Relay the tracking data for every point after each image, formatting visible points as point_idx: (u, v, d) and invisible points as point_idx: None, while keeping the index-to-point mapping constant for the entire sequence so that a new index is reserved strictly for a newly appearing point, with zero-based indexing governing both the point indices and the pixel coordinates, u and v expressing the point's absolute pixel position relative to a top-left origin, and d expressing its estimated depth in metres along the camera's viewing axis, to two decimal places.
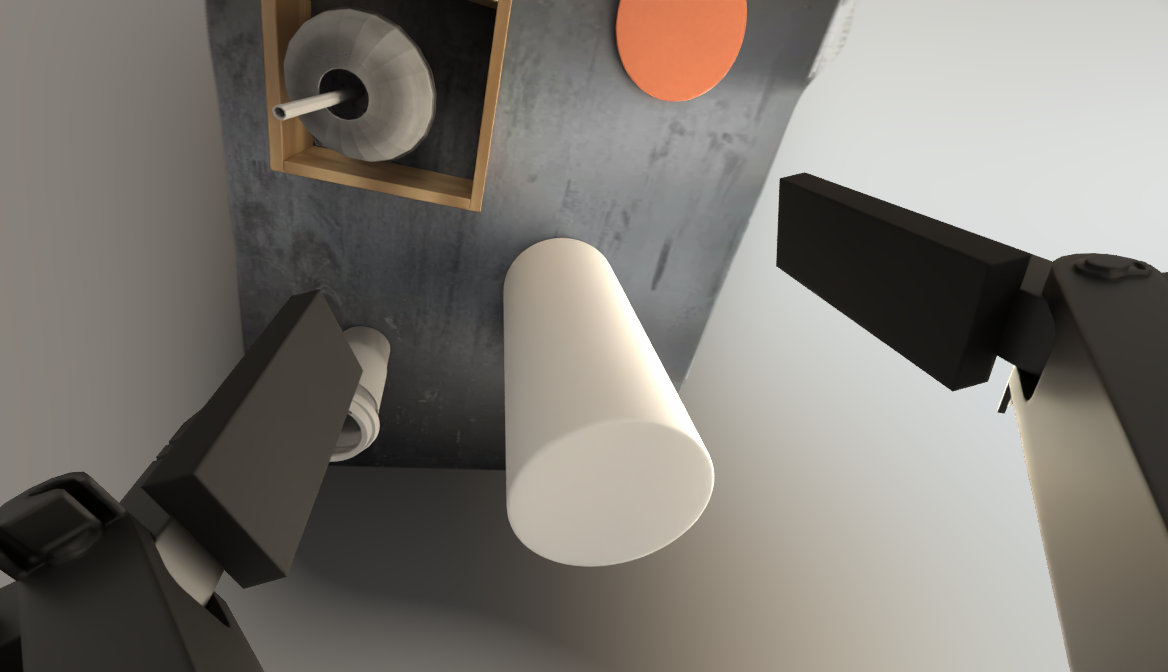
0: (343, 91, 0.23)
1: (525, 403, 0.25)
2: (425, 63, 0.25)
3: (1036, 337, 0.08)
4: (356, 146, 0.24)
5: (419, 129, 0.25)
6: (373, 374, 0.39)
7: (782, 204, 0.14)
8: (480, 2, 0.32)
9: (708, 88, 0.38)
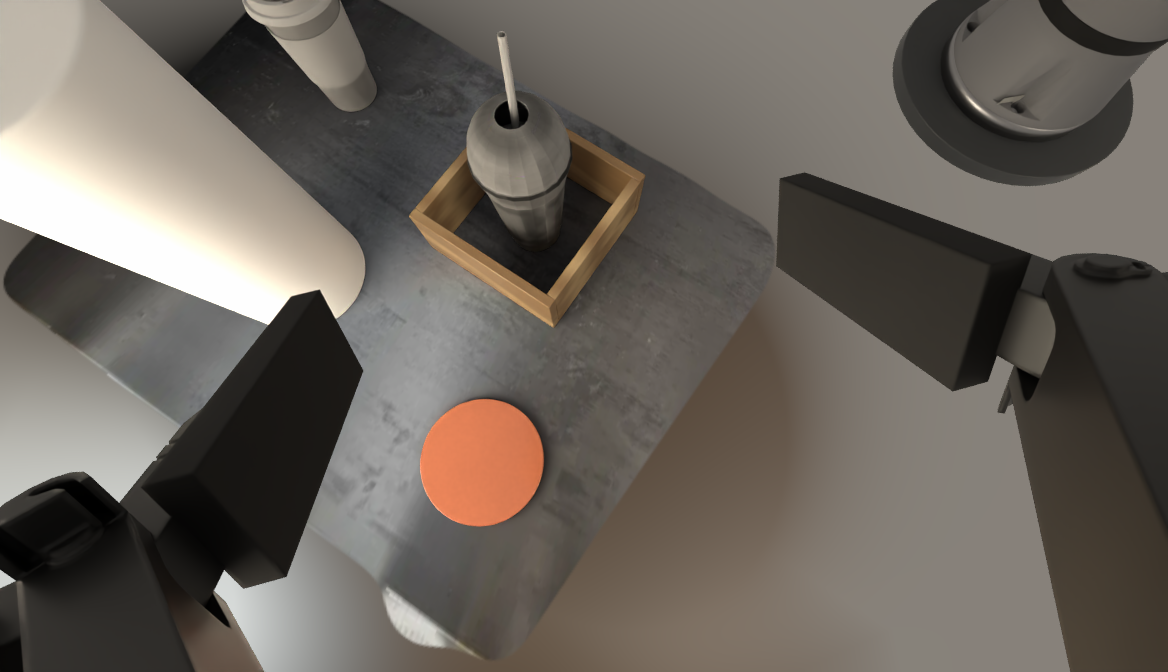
0: (517, 124, 0.30)
1: (165, 69, 0.23)
2: (517, 198, 0.32)
3: (1036, 337, 0.08)
4: (480, 110, 0.30)
5: (475, 164, 0.31)
6: (316, 62, 0.40)
7: (782, 204, 0.14)
8: None
9: (422, 474, 0.38)
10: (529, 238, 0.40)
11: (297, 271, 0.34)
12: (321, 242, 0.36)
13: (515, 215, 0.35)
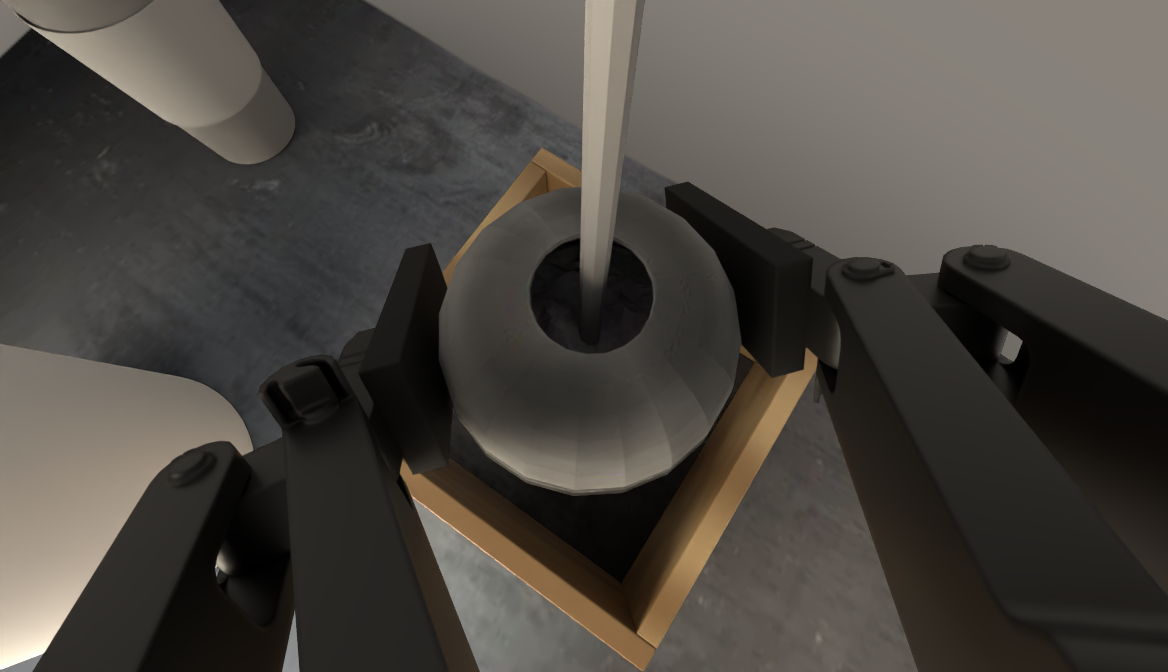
0: (599, 298, 0.09)
1: None
2: (588, 492, 0.11)
3: (828, 335, 0.09)
4: (481, 257, 0.09)
5: (464, 417, 0.10)
6: (139, 79, 0.19)
7: None
8: (639, 567, 0.20)
9: None
10: None
11: (7, 625, 0.13)
12: (96, 518, 0.15)
13: None
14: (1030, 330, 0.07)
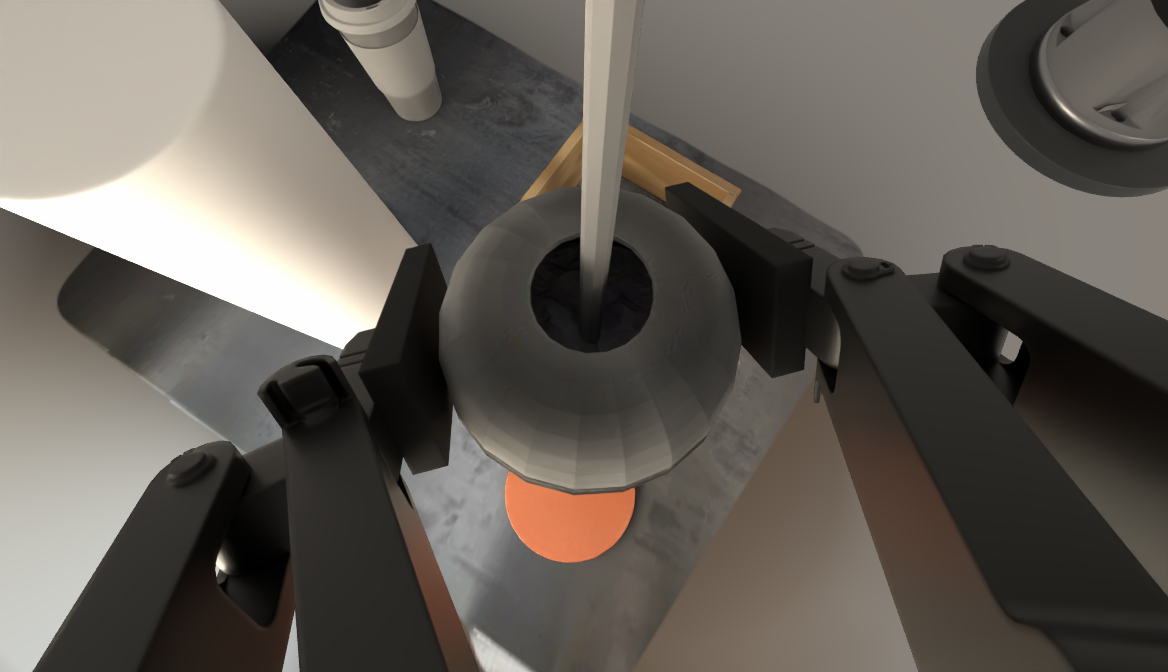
0: (599, 298, 0.09)
1: (285, 86, 0.21)
2: (588, 492, 0.11)
3: (828, 335, 0.09)
4: (481, 255, 0.09)
5: (464, 416, 0.10)
6: (390, 71, 0.38)
7: None
8: None
9: (507, 506, 0.36)
10: None
11: (385, 295, 0.32)
12: None
13: None
14: (1030, 330, 0.07)
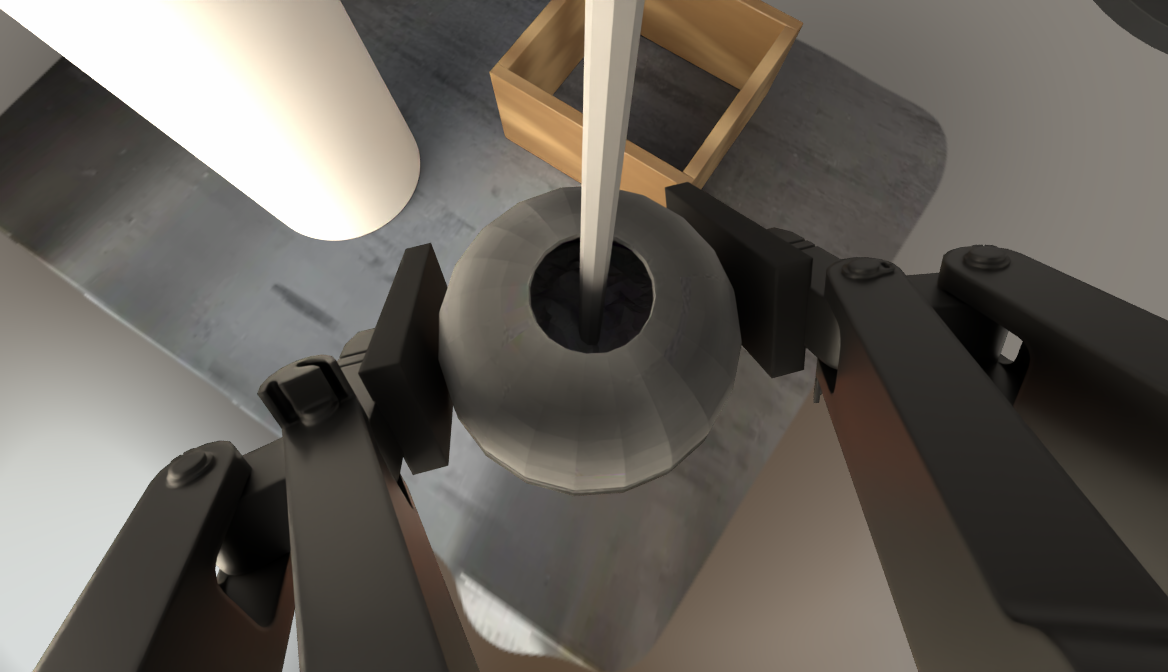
0: (599, 298, 0.09)
1: None
2: (588, 492, 0.11)
3: (827, 335, 0.09)
4: (481, 256, 0.09)
5: (463, 417, 0.10)
6: None
7: None
8: None
9: None
10: None
11: (345, 129, 0.24)
12: (375, 98, 0.26)
13: None
14: (1030, 330, 0.07)
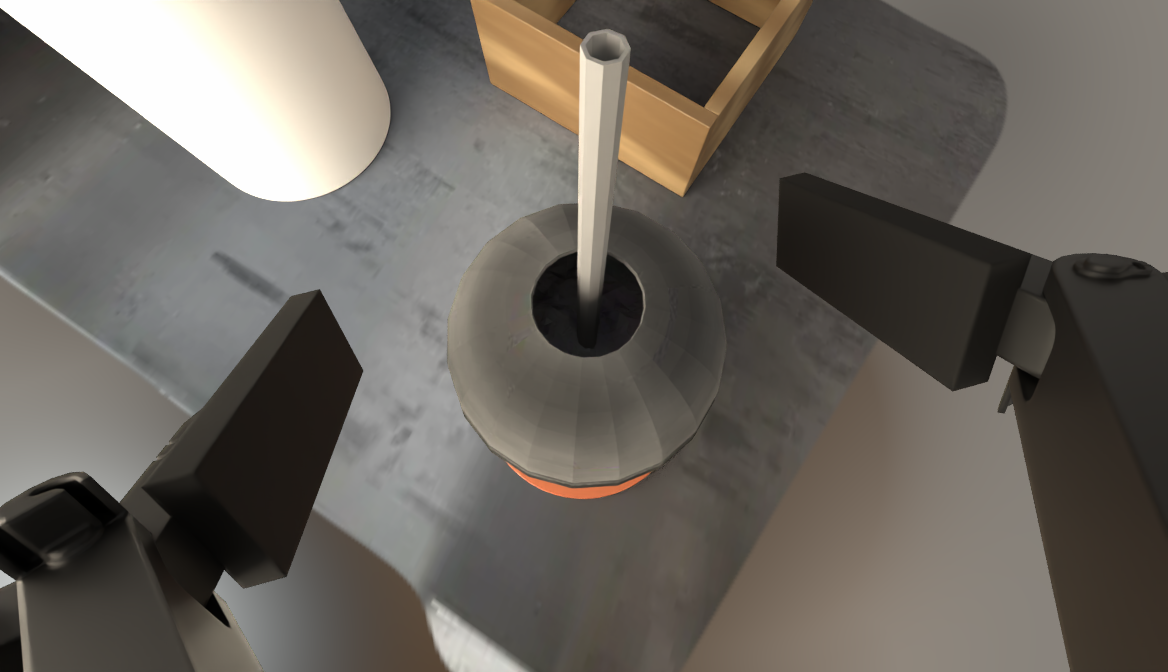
0: (595, 306, 0.10)
1: None
2: (586, 485, 0.12)
3: (1036, 337, 0.08)
4: (487, 269, 0.10)
5: (470, 415, 0.11)
6: None
7: (782, 204, 0.14)
8: None
9: None
10: None
11: (283, 46, 0.19)
12: (325, 14, 0.21)
13: None
14: None
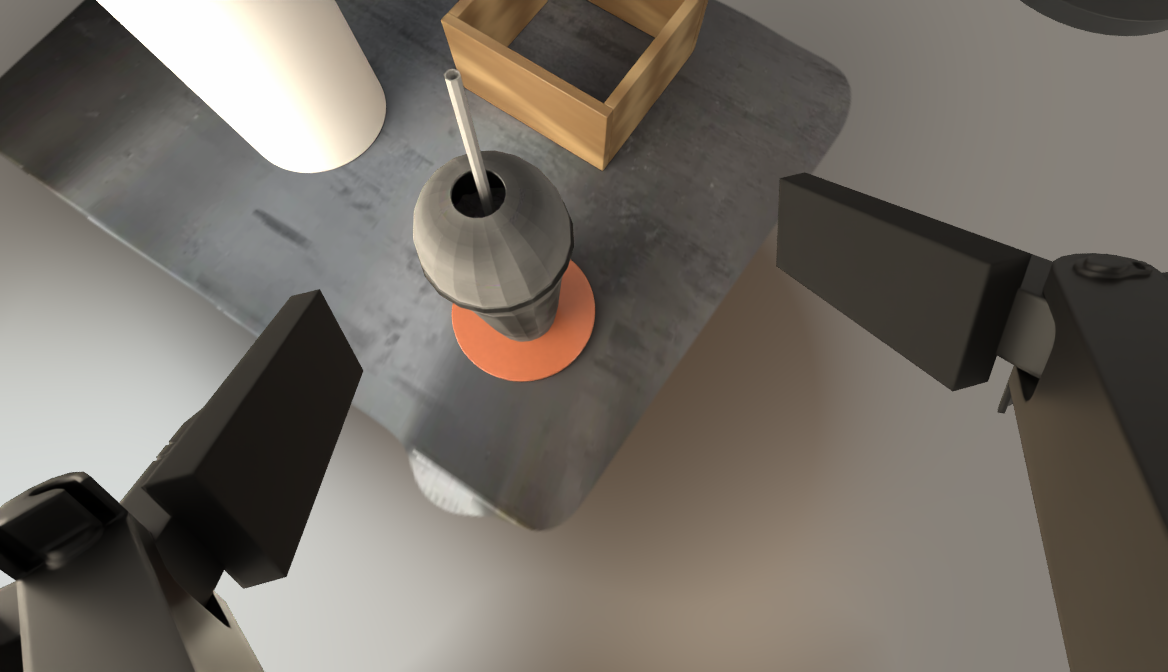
0: (489, 203, 0.19)
1: None
2: (490, 309, 0.21)
3: (1036, 337, 0.08)
4: (432, 182, 0.19)
5: (424, 263, 0.20)
6: None
7: (782, 204, 0.14)
8: None
9: (454, 324, 0.33)
10: (514, 334, 0.29)
11: (312, 60, 0.29)
12: (340, 37, 0.30)
13: (491, 317, 0.24)
14: None
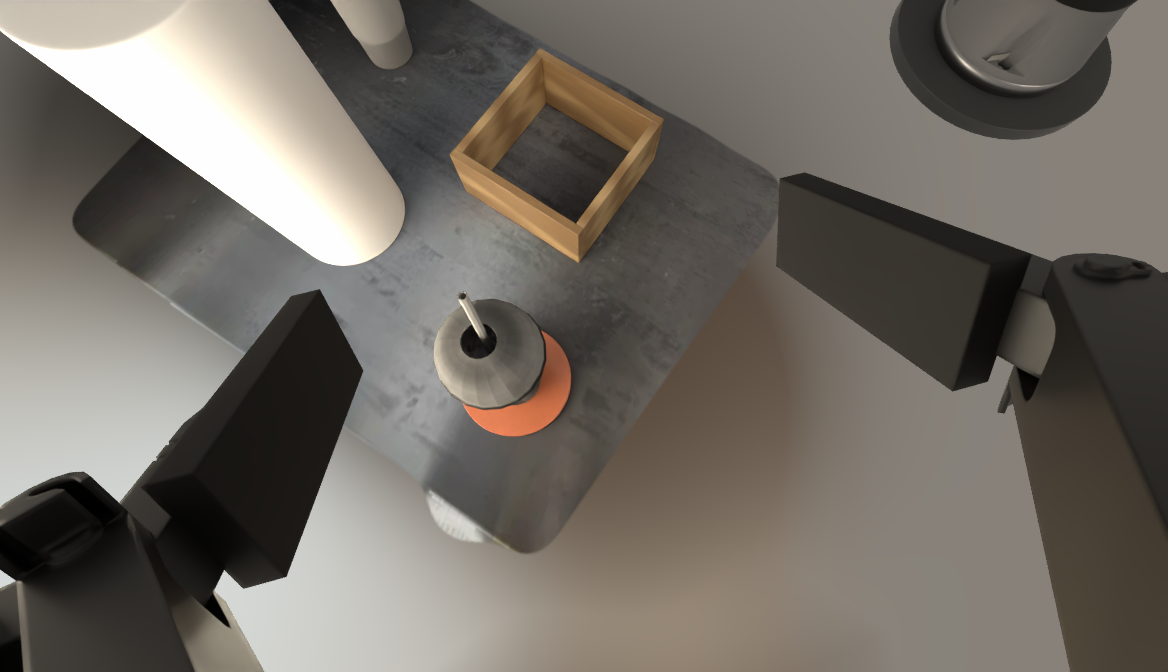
0: (486, 340, 0.29)
1: None
2: (487, 408, 0.30)
3: (1036, 337, 0.08)
4: (447, 327, 0.28)
5: (442, 379, 0.29)
6: (363, 17, 0.44)
7: (782, 204, 0.14)
8: None
9: None
10: None
11: (353, 198, 0.38)
12: (372, 175, 0.39)
13: None
14: None
